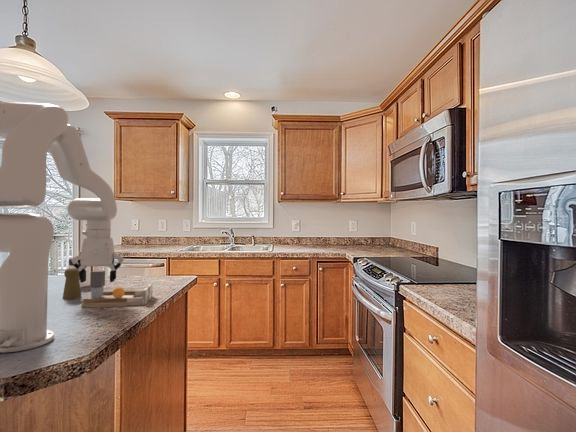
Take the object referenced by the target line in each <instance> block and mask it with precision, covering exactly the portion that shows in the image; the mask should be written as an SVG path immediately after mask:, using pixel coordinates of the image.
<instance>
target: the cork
mask: <svg viewBox="0 0 576 432" xmlns="http://www.w3.org/2000/svg"><path fill="white" fill-rule="evenodd" d="M63 274H64V277H65V281H64V288H63V293H62V299H63V300H76V299H80V298H82V293H81V292H82V291H81V287H80V282H79V271H78V269H77V268H69V269H68V268H67V269H65V270H64V272H63Z"/></svg>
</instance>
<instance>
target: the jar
mask: <svg viewBox="0 0 576 432" xmlns="http://www.w3.org/2000/svg"><path fill="white" fill-rule="evenodd" d="M72 258H73V257H71V258H69V259H68V265H67V267H68V268H67V269H69V268H75V267H74V264H73V263H72V261H71V259H72ZM78 263H79V264H80V265H81V263H80V259H78ZM85 270H86V281H84V282H82V283H80V288H86V287H90V277H91V272H92V271H91V270H92V266H87V267H86V268H85ZM79 282H80V280H79Z"/></svg>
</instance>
